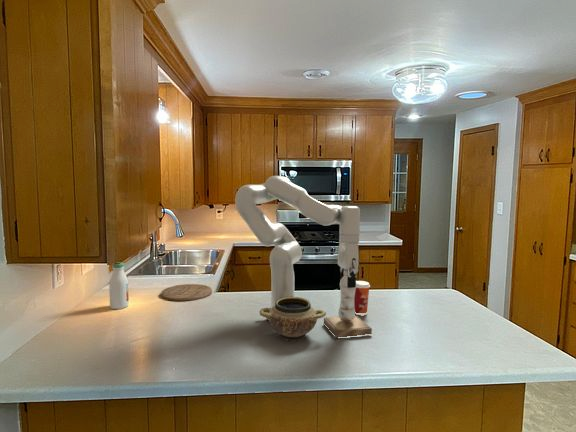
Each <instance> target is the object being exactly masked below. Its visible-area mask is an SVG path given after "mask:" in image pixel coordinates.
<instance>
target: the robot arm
mask: <svg viewBox="0 0 576 432" xmlns="http://www.w3.org/2000/svg"><path fill="white" fill-rule="evenodd" d="M275 200H278V201H279V202H282V203H284V204H287V205H288V206H290V207H292V208H293V209H295V210H296V211H297V212H299V213H300V214H301V215H303V216H304V217H306V218H308V219H309V220H311V221H313V222H315V223H317V224H319V225H322V226H325V227H326V226H331V225H334V224H339V236H338V237H339V238H338V243H339V244H338V251H337V252H338V253H337V266H339V268H340V269H339V271H340V278H339V281H340V280H341V279H342V277H343V276H344V274H343V273H344V269H345V270H348V276H349V277H348V279H347V287H348V288H354V287H356V281H357V276H358V273H359V264H360V263H359V261H360V260H359V258H360V257H359V255H360V254H359V244H360V230H361V229H360V226H361V222H360V221H361V209H360V207H359V206H356V205H339V204H325V203H322V202H321V201H318V200H316V199H315V198H313V197H312V196H310V195H309V194H308V192H307V190H306V189H305V188H303V187H301V186H299V185H297V184H295V183H293V182H292V181H291V180H290V179H289V178H288V177H286V176H283V175H272V176H269V177H268V178H267V179H266V180H265V182H264V183H259V184H245V185H242V186H241V187H239V188H238V190H237V191H236V194H235V197H234V203H235V204H234V206H235V209H236V210H237V213H238V214H239V216H240V218H242V220H243V221H244V222H245V223H246V225H247V226H248V228H249V229H250V230H251V232H252V233H253V235H254V236H255V237H256V238H257V240H258V242H260V244H261V245H263V246H264V247H272V246H274V247H273V249H271V251H270V253H269V254H270V255H269V266H270V270H271V272H270V273H271V274H270V275H271V276H270V277H271V286H270V287H271V290H270V291H271V293H270V295H271V297H270V299H271V300H270V302H271V303H270V304H271V305H270V306H271V307H269V308H272V307H274V306H275V303H276V301H277V300H278V299H281V298H285V297H295V271H294V264H296V263H298V262H299V261H300V260H301V258H302V255H303V250H302V247H301V245H300V244H299V242H298V241H297V240H296V239H295V237H294V236H293V235H292V233H291V232H290V230H289V229H288V228H287V227H286V225H284V224H283V223H281V222H279V221H278V222H277V221H273V222H272V221H271V220H270V219H269V217H267V215H266V214H265V213H264V211H262V210H261V208H260V207H258V205H261V204H266V203H269V202H271V201H275ZM351 271H352V272H351ZM265 313H268V312H265ZM259 316H261V315H260V314H259ZM261 317H262V316H261ZM268 320H269V319H268ZM268 320H267V321H268Z"/></svg>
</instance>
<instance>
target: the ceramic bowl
mask: <svg viewBox="0 0 576 432" xmlns="http://www.w3.org/2000/svg"><path fill="white" fill-rule="evenodd" d="M311 305H312V304H311V302H310V300H309V299H307V298H304V297H299V296H294V297H285V298H281V299H278V300H277V301H276V303H275V306H274V307H272V308H270V307H263V308H261V309H260V310H259V316H260V315H261V317H263V318H265V319H269V321H268V322H269V324H270V326H271V327H272V329H273V330H274V331H275V332H276V333H278V334H280V336H279V337H280V338H281V337H282V338H283V340H285V339H287V340H286V341H288V340H298V341H300V340H299V339H301V338H303V337H304V336H305V337H306V335H307V334H308V333H310V332H311V331H312V330H313V329H314V328H315V326H316V324H317V321H318V319H321V318H325V316H326V315H327V312H326V311H325V310H323V309H316V308H313V306H311ZM265 312H268V313H265ZM305 337H304V338H305ZM282 338H281V339H282ZM304 338H303V339H304ZM301 340H302V339H301Z"/></svg>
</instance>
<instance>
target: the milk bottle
mask: <svg viewBox="0 0 576 432" xmlns="http://www.w3.org/2000/svg"><path fill="white" fill-rule="evenodd" d="M120 263H121V264H119V265H113V264H112V269H113V271H112V274H111V276H110V278H109V283H108V284H109V287H108V288H109V291H108V292H109V308H110V309H112V310H122V309H125V308H128V306H129V305H130V303H129V302H130V301H129V300H130V299H129V281H128V277H127V275H126V273H125V271H124V268H125V263H124V262H120Z"/></svg>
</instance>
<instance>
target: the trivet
mask: <svg viewBox="0 0 576 432" xmlns="http://www.w3.org/2000/svg"><path fill="white" fill-rule="evenodd" d="M212 294H213V289H212V287H210V286H208V285H206V284H198V283H195V284H194V283H186V284H185V283H183V284H178V285H173V286H169V287H166V288H164V289H162V290H161V293H160V296H161V299H164V300H166V301H171V302H192V301H198V300H202V299H205V298H208V297H209V296H211V295H212Z"/></svg>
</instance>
